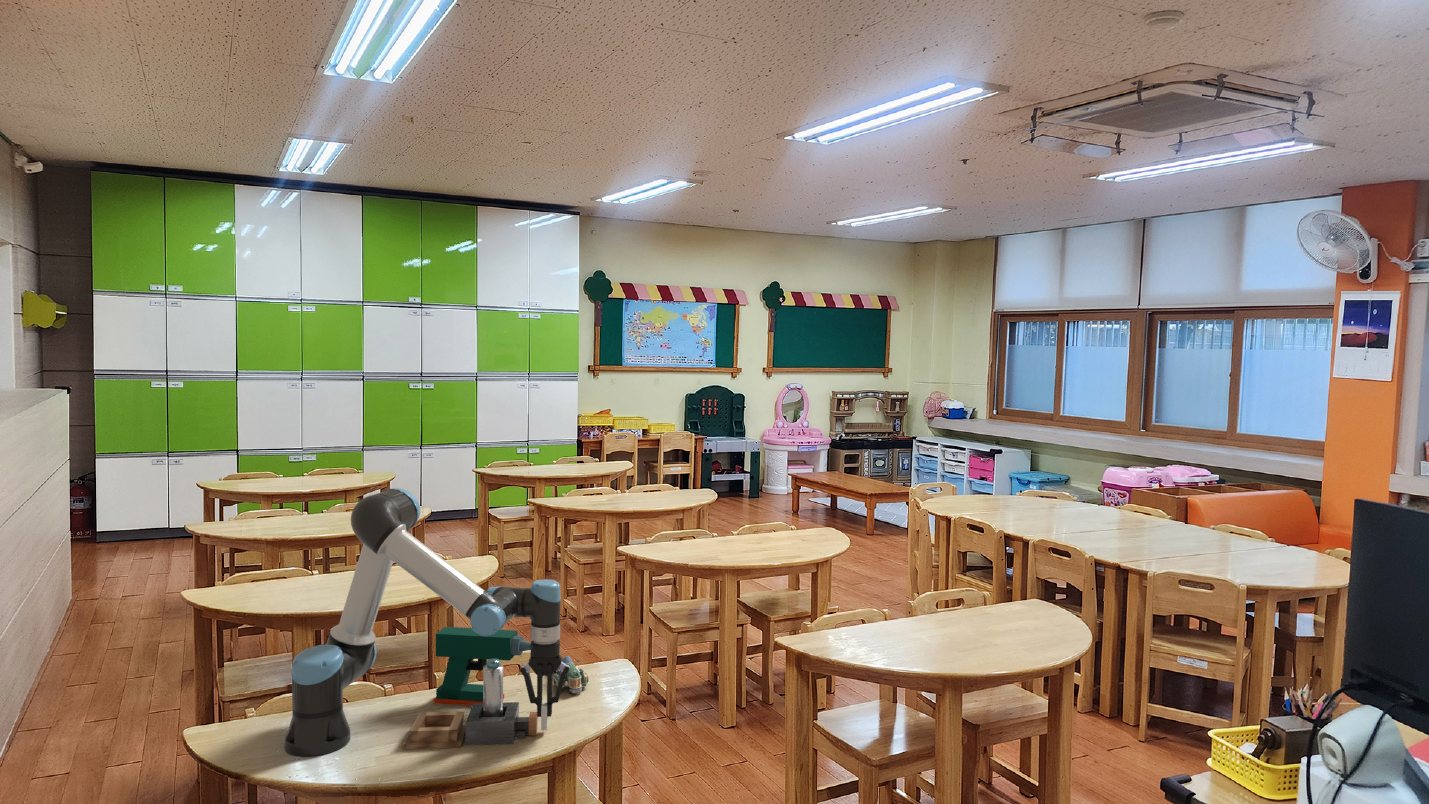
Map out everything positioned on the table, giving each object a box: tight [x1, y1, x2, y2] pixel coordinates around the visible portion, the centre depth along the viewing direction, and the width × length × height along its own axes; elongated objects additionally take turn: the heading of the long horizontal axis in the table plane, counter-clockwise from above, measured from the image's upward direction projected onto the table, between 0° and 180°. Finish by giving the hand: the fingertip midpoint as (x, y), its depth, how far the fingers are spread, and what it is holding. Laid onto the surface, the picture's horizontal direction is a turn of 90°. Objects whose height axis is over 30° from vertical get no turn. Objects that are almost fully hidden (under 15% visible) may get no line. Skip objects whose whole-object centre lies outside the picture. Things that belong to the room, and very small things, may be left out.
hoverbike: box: [552, 649, 590, 696], centre depth 265 cm, size 10×25×8 cm, turn 25°
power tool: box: [433, 626, 531, 706], centre depth 248 cm, size 32×7×20 cm, turn 84°
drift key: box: [516, 711, 539, 736], centre depth 228 cm, size 8×4×5 cm, turn 97°
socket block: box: [465, 701, 526, 746], centre depth 227 cm, size 14×12×6 cm
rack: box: [402, 710, 467, 750], centre depth 226 cm, size 14×14×4 cm
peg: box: [482, 659, 504, 717], centre depth 227 cm, size 5×5×20 cm
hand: (544, 728), depth 229 cm, fingers closed
